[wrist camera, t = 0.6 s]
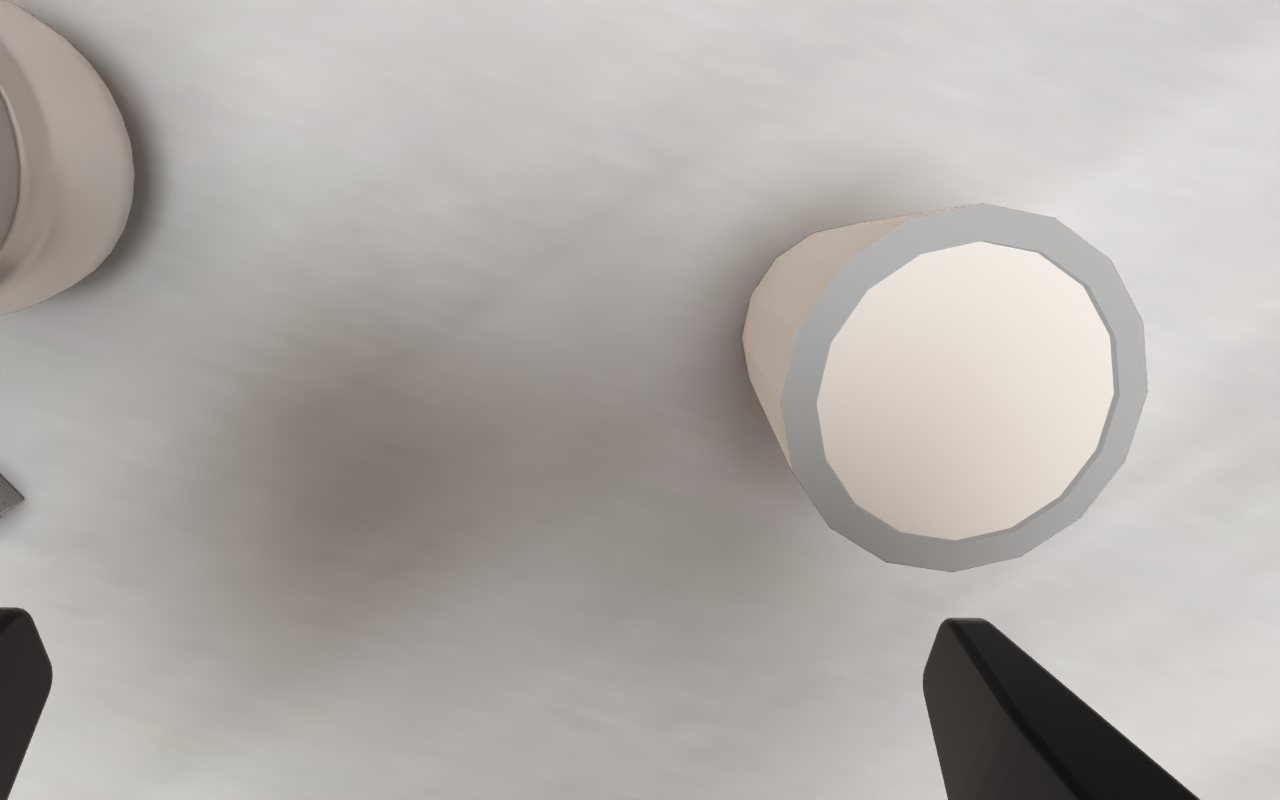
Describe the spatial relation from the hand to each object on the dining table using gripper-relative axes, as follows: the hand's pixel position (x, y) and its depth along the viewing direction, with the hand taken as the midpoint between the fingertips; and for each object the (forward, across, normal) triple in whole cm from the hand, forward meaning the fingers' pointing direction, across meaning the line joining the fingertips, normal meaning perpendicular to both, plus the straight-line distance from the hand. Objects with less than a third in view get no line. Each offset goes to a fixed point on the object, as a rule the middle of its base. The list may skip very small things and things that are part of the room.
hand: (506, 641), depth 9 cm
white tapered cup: (+14, -8, +3) cm, 16 cm away
